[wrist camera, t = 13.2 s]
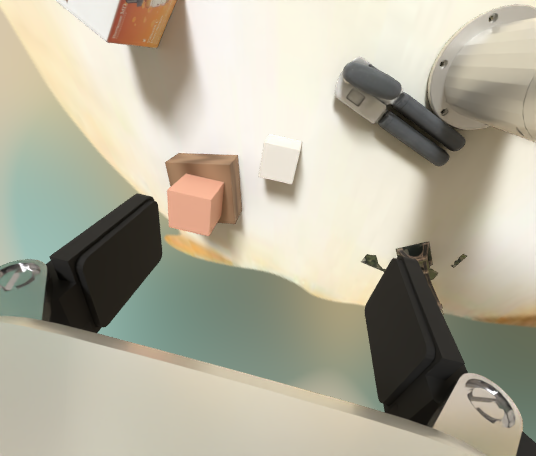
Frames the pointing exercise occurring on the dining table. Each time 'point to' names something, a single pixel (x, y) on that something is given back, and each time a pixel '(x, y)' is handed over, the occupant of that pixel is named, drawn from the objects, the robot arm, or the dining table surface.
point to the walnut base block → (211, 177)
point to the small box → (124, 19)
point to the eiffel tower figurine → (421, 255)
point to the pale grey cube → (279, 158)
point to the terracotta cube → (195, 204)
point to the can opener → (390, 92)
